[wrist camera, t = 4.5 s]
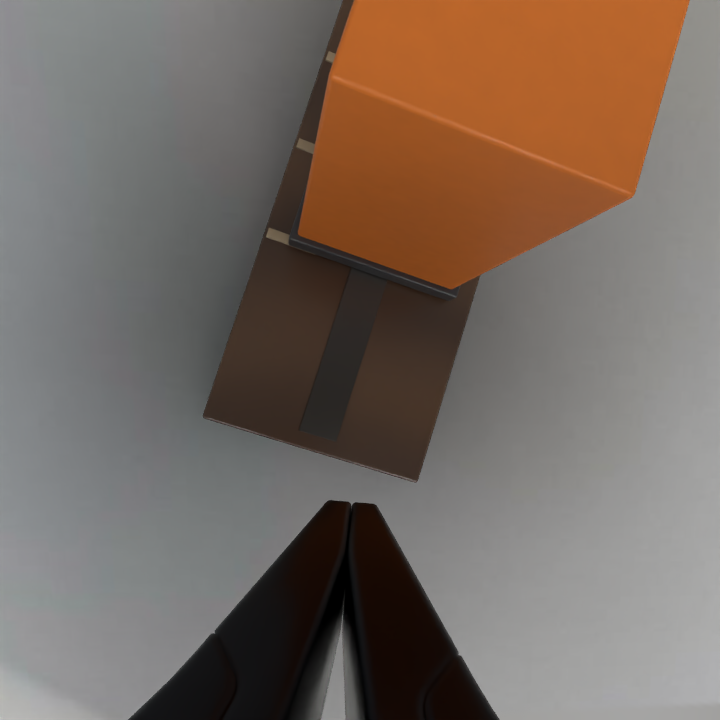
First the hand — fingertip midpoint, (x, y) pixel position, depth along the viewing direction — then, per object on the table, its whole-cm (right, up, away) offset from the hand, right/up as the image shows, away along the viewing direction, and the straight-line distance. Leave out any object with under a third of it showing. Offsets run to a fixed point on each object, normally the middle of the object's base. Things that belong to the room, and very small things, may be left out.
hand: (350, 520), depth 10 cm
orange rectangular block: (+1, +7, +9) cm, 12 cm away
